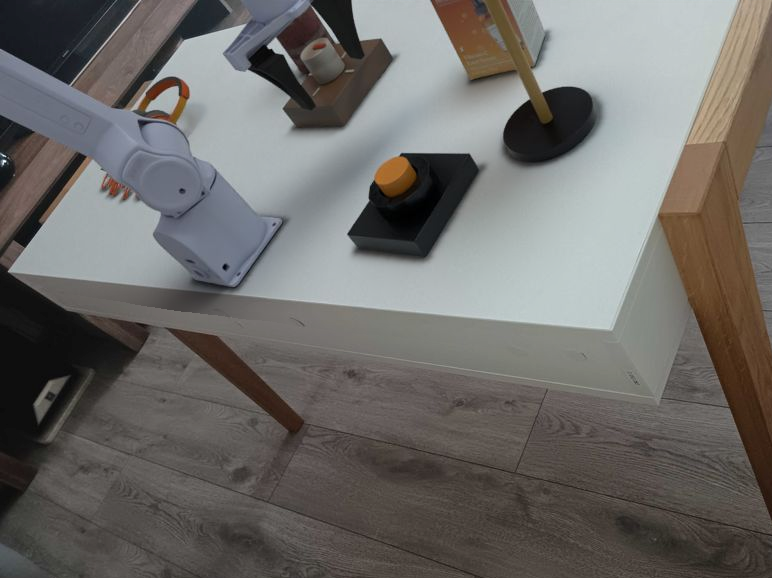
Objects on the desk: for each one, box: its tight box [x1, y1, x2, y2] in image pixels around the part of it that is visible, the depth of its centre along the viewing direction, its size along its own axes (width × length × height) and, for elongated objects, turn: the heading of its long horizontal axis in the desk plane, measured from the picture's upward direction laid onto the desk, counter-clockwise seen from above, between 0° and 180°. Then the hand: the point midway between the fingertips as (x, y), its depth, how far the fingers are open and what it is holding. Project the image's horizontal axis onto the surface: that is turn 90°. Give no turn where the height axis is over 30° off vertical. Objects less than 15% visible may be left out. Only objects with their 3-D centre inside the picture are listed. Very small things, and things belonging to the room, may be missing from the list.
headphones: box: [100, 76, 191, 200], centre depth 109 cm, size 17×5×20 cm
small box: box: [429, 0, 546, 81], centre depth 78 cm, size 8×6×10 cm
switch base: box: [346, 152, 480, 257], centre depth 72 cm, size 11×9×4 cm
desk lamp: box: [484, 0, 598, 164], centre depth 63 cm, size 10×10×24 cm
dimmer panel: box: [282, 37, 394, 128], centre depth 93 cm, size 12×9×3 cm
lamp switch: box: [373, 156, 417, 197], centre depth 70 cm, size 4×4×2 cm
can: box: [275, 4, 337, 76], centre depth 98 cm, size 6×6×14 cm
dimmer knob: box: [300, 38, 345, 84], centre depth 91 cm, size 4×4×4 cm
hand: (333, 81), depth 78 cm, fingers open, 7 cm apart
